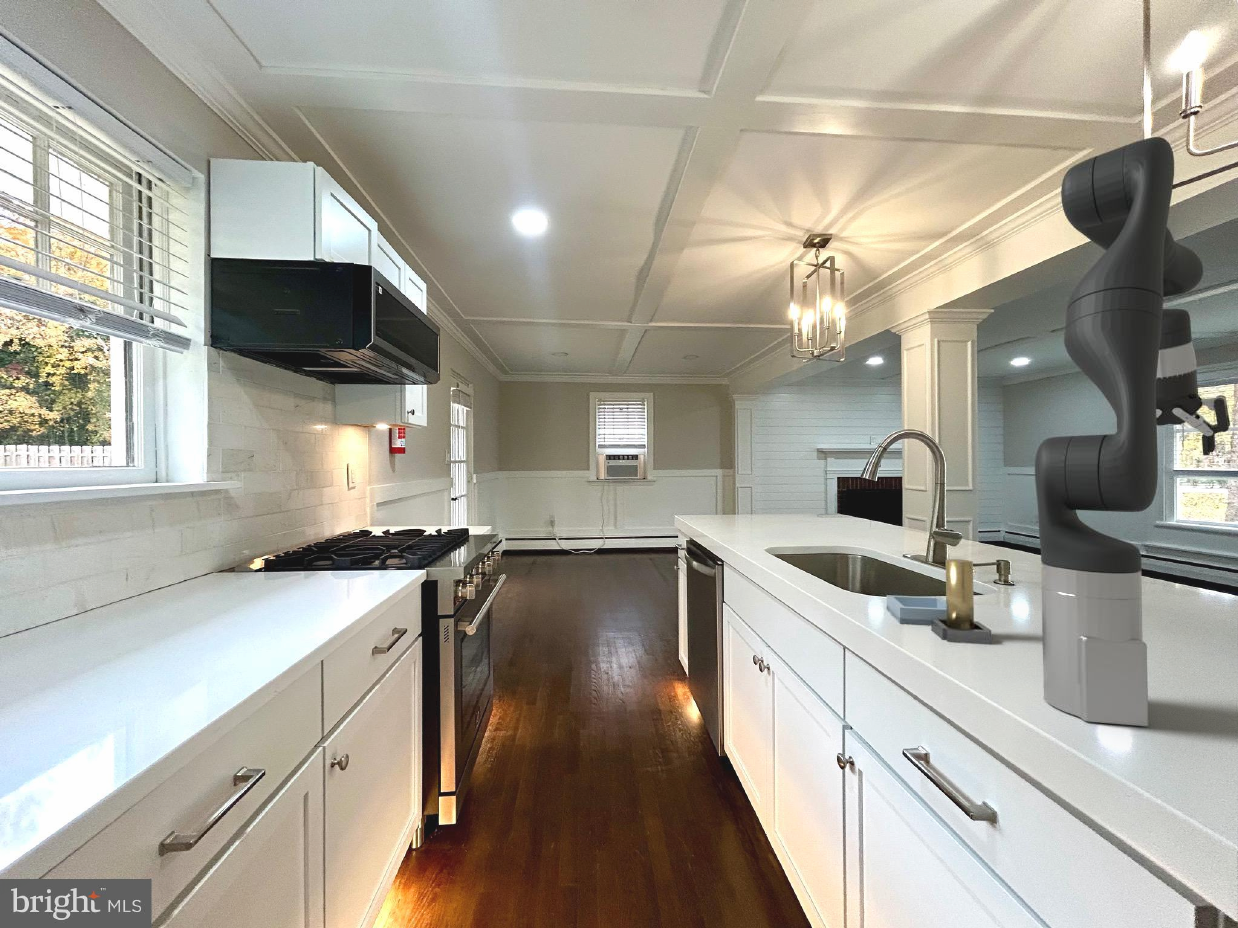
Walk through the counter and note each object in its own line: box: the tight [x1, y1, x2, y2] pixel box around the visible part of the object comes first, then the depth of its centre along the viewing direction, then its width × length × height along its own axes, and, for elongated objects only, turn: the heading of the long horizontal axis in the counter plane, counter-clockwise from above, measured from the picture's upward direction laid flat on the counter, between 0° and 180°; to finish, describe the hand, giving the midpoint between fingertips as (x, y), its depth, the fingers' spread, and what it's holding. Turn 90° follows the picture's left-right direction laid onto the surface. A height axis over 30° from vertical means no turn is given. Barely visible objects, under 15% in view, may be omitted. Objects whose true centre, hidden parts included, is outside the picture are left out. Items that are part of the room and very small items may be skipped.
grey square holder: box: [930, 618, 992, 645], centre depth 93 cm, size 7×7×2 cm
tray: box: [886, 594, 947, 626], centre depth 104 cm, size 10×10×3 cm
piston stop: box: [945, 558, 975, 629], centre depth 93 cm, size 4×4×13 cm
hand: (1173, 454), depth 99 cm, fingers open, 8 cm apart
